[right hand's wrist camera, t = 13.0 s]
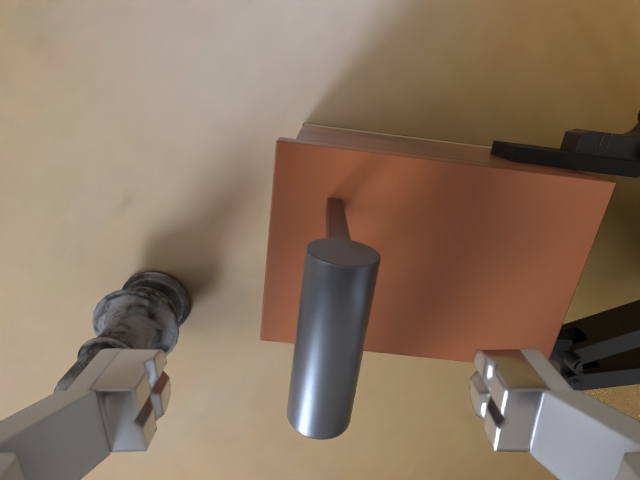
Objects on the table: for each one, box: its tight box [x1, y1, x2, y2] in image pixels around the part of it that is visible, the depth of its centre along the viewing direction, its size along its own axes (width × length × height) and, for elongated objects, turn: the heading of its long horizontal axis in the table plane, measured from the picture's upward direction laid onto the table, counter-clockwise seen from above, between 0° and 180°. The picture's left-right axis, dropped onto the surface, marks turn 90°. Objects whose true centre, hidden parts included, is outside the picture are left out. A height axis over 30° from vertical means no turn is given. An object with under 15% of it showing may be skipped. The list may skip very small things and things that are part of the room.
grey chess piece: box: [54, 272, 190, 393], centre depth 25 cm, size 6×6×12 cm
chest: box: [296, 123, 593, 176], centre depth 24 cm, size 14×10×10 cm
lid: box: [260, 137, 616, 440], centre depth 15 cm, size 14×10×9 cm
